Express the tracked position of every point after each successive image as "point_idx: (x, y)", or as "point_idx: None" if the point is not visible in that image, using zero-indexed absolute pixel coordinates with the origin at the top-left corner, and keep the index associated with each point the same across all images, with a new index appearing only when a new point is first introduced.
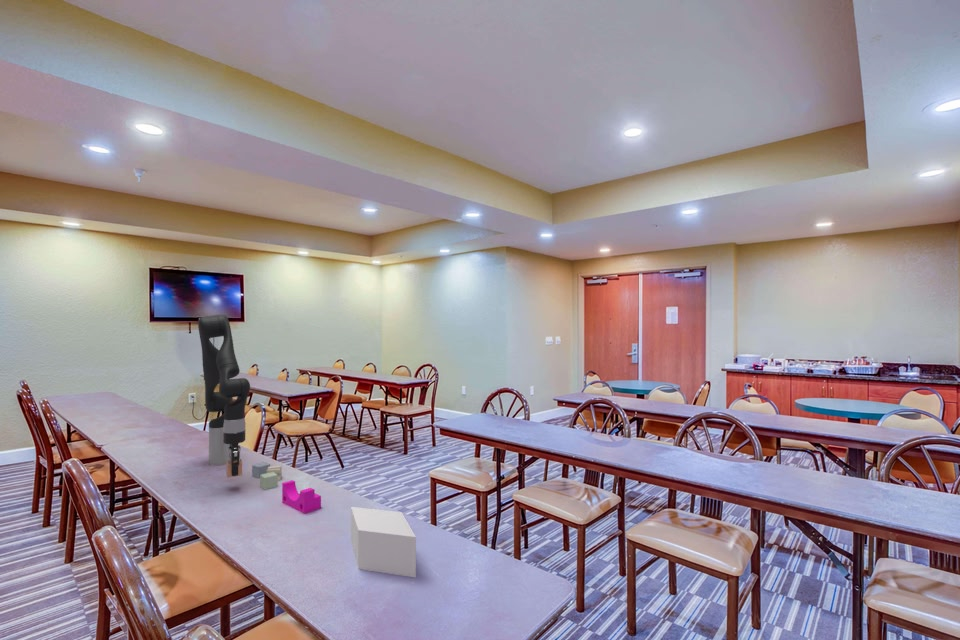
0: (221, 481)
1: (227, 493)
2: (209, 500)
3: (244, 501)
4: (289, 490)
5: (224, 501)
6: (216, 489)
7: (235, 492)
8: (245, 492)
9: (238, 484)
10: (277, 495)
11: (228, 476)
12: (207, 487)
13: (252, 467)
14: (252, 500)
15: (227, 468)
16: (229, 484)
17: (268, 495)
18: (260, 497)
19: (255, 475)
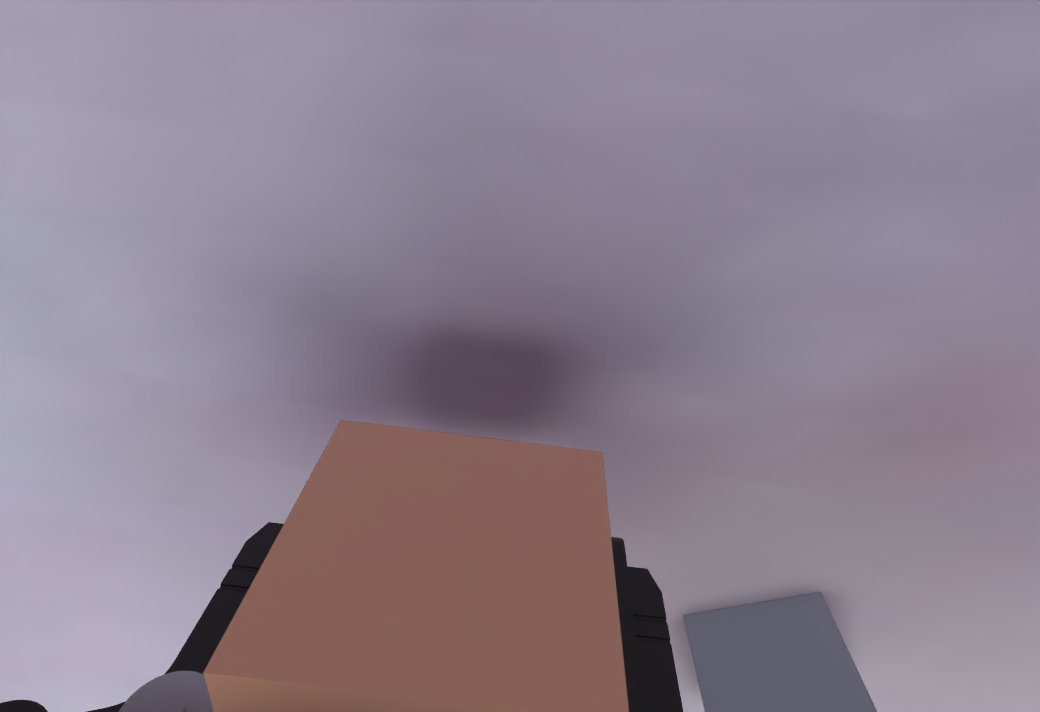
0: (997, 321)
1: (396, 295)
2: (214, 33)
3: (5, 387)
4: None
5: (84, 210)
6: (680, 205)
7: (378, 373)
8: (314, 450)
9: (666, 451)
10: (82, 612)
11: (335, 450)
12: (904, 103)
13: (866, 703)
14: (12, 449)
15: (259, 573)
16: (759, 376)
17: (112, 569)
18: (80, 515)
19: (759, 629)
